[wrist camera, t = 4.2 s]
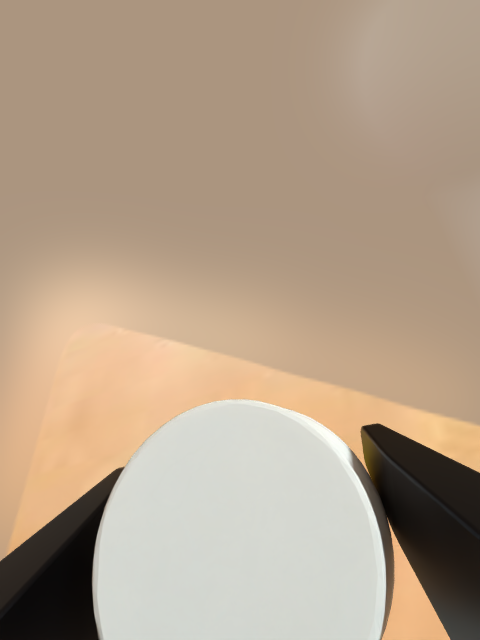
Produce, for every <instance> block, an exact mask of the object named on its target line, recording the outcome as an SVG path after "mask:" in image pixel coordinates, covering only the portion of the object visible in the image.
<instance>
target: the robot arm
mask: <svg viewBox="0 0 480 640" xmlns="http://www.w3.org/2000/svg"><path fill="white" fill-rule="evenodd" d="M361 438H362V446H363V453H364V459H365V463H366V466H367V469H368V472H369V474H370V476H371V479H372V481H373V483H374V485H375V487H376V490H377V492H378V494H379V496H380V498H381V501H382V504H383V506H384V509H385V512H386V515H387V518H388V520H389V523H390V525H391V527H392V530H393V532H394V534H395V536H396V538H397V540H398V542H399V544H400V546H401V548H402V550H403V552H404V554H405V555H406V557H407V559H408V561H409V563H410V565H411V567H412V568H413V570H414V572H415V574H416V576H417V578H418V580H419V581H420V583H421V585H422V587H423V589H424V591H425V593H426V595H427V596H428V598H429V600H430V602H431V604H432V606H433V608H434V609H435V611H436V613H437V615H438V617H439V619H440V621H441V622H442V624H443V626H444V628H445V630H446V632H447V634H448V636H449V637H450V639H451V640H480V473H479V472H477V471H475V470H473V469H471V468H469V467H467V466H465V465H463V464H461V463H459V462H456V461H454V460H452V459H450V458H448V457H446V456H444V455H442V454H440V453H438V452H436V451H434V450H432V449H430V448H428V447H426V446H424V445H422V444H420V443H418V442H416V441H414V440H412V439H410V438H408V437H406V436H403V435H401V434H399V433H397V432H395V431H393V430H391V429H389V428H387V427H385V426H383V425H381V424H371V425H366V426H362V427H361ZM124 468H125V467H121V468H118V469H116V470H115V471H113V472H112V473H111V474H110V475H108V476H107V477H106V478H104V479H103V480H102V481H101V482H99V483H98V484H97V485H96V486H94V487H93V488H92V489H91V490H89V491H88V492H87V493H86V494H84V495H83V496H82V497H81V498H79V499H78V500H77V501H76V502H74V503H73V504H72V505H70V506H69V507H68V508H67V509H65V510H64V511H63V512H62V513H60V514H59V515H58V516H57V517H55V518H54V519H53V520H52V521H50V522H49V523H48V524H47V525H45V526H44V527H43V528H42V529H40V530H39V531H38V532H36V533H35V534H34V535H33V536H31V537H30V538H29V539H28V540H26V541H25V542H24V543H23V544H21V545H20V546H19V547H18V548H16V549H15V550H14V551H13V552H11V553H10V554H9V555H8V556H6V557H5V558H4V559H2V560H1V561H0V640H99V637H98V632H97V626H96V621H95V615H94V606H93V594H92V571H93V559H94V550H95V543H96V538H97V534H98V530H99V526H100V523H101V519H102V516H103V512H104V509H105V506H106V503H107V501H108V499H109V496H110V494H111V491H112V489H113V487H114V485H115V484H116V482H117V480H118V478H119V476H120V474H121V473H122V471H123V469H124Z"/></svg>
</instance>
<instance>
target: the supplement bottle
mask: <svg viewBox="0 0 480 640" xmlns="http://www.w3.org/2000/svg"><path fill="white" fill-rule="evenodd" d="M393 589H394V551H393V545H392V538H391V532H390V528H389V524H388V520H387V516H386V512H385V509H384V506H383V504H382V501H381V498H380V496H379V494H378V492H377V490H376V487H375V485H374V483H373V481H372V479H371V477H370V476H369V474H368V472H367V471H366V469H365V468H364V466H363V465H362V463H361V462H360V460H359V459H358V458H357V456H356V455H355V454H354V453H353V452H352V450H351V449H350V448H349V447H348V446H347V445H346V444H345V443H344V442H343V441H342V440H341V439H340V438H339V437H338V436H336V435H335V434H334V433H333V432H332V431H330V430H329V429H328V428H326V427H325V426H323V425H322V424H320V423H319V422H317V421H315V420H314V419H312V418H310V417H308V416H305V415H303V414H300V413H298V412H295V411H292V410H289V409H285V408H281V407H279V406H275V405H272V404H268V403H265V402H261V401H254V400H222V401H215V402H211V403H207V404H204V405H201V406H198V407H195V408H193V409H191V410H188V411H186V412H184V413H182V414H180V415H178V416H176V417H174V418H173V419H171V420H170V421H169V422H167V423H165V424H164V425H163V426H162V427H160V428H159V429H158V430H157V431H156V432H155V433H153V434H152V435H151V436H150V437H149V438H148V439H147V440H145V442H144V443H143V444H142V445H141V446H140V448H139V449H138V450H137V451H136V452H135V453H134V455H133V456H132V457H131V459H130V460H129V462H128V463H127V465H126V466H125V468H124V469H123V471H122V473H121V474H120V476H119V478H118V480H117V482H116V484H115V485H114V487H113V489H112V491H111V494H110V496H109V499H108V501H107V503H106V506H105V509H104V512H103V516H102V519H101V523H100V526H99V530H98V534H97V538H96V543H95V550H94V559H93V571H92V594H93V606H94V615H95V621H96V626H97V632H98V637H99V640H381V639H382V637H383V634H384V631H385V629H386V625H387V621H388V617H389V613H390V609H391V604H392V598H393Z"/></svg>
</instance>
